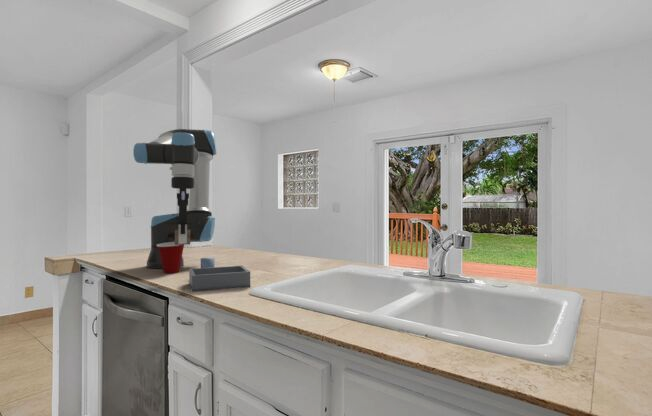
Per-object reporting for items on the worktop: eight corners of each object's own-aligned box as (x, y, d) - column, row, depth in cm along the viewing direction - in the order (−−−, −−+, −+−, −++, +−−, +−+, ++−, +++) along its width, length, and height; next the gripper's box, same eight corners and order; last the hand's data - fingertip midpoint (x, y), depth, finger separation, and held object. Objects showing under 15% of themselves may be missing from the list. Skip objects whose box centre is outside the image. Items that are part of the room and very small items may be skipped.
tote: (189, 283, 125) (189, 268, 125) (242, 279, 133) (242, 265, 133) (192, 291, 113) (192, 275, 113) (250, 286, 120) (250, 271, 120)
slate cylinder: (199, 276, 139) (200, 257, 139) (213, 275, 141) (213, 257, 141) (201, 278, 134) (201, 259, 134) (215, 277, 136) (215, 258, 136)
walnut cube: (174, 243, 130) (174, 229, 130) (189, 243, 132) (189, 229, 132) (174, 244, 125) (174, 230, 125) (190, 244, 127) (190, 230, 127)
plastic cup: (151, 272, 147) (151, 242, 147) (177, 269, 155) (177, 240, 155) (163, 275, 139) (163, 244, 139) (190, 272, 148) (190, 242, 148)
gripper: (171, 179, 136) (171, 241, 135) (171, 173, 119) (170, 245, 119) (193, 179, 139) (192, 241, 138) (195, 174, 122) (195, 244, 121)
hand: (182, 242), depth 128 cm, fingers closed on walnut cube, 5 cm apart
